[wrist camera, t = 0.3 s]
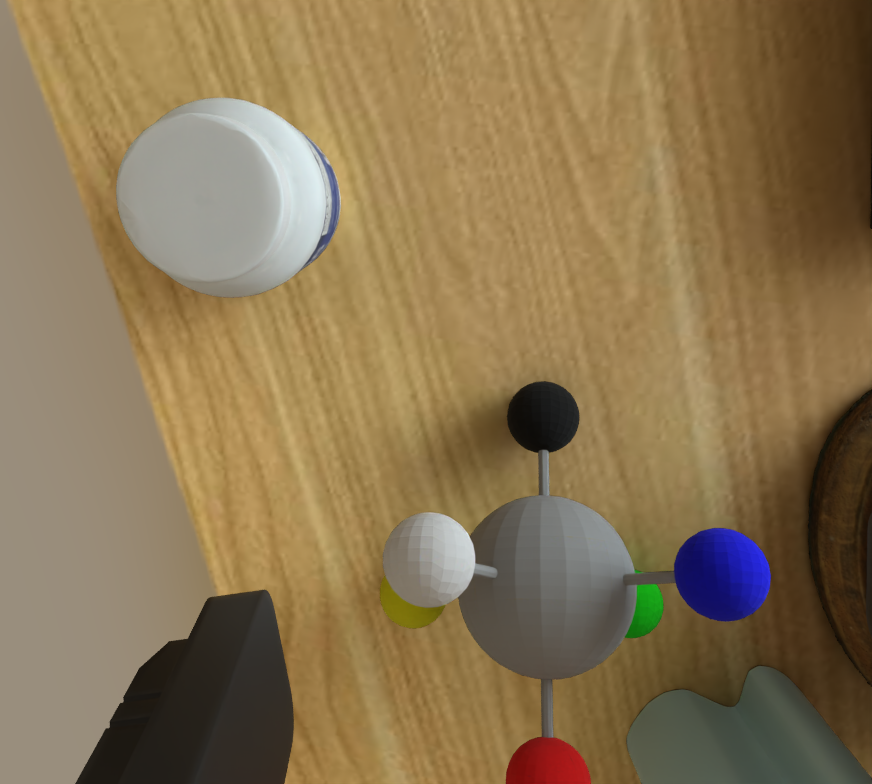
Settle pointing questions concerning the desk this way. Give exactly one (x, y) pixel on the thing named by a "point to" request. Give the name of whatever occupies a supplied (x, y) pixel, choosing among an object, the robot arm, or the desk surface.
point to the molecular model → (555, 581)
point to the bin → (871, 197)
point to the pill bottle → (227, 197)
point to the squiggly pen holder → (740, 739)
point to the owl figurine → (844, 530)
